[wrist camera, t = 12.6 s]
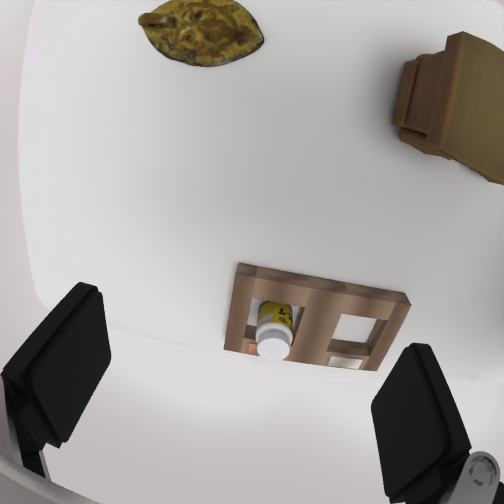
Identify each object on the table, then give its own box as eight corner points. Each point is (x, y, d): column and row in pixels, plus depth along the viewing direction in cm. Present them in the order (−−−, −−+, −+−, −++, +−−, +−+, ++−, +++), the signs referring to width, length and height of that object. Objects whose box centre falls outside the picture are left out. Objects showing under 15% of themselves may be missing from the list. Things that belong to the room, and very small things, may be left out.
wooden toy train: (373, 135, 34) (436, 160, 19) (393, 47, 28) (464, 18, 14) (496, 184, 34) (574, 232, 19) (515, 110, 29) (600, 130, 14)
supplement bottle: (298, 314, 45) (300, 355, 38) (270, 327, 47) (267, 368, 39) (280, 290, 44) (280, 330, 36) (252, 305, 45) (246, 345, 38)
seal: (274, 9, 29) (155, -3, 29) (274, -7, 25) (142, -17, 24) (255, 77, 32) (135, 61, 32) (253, 68, 28) (118, 53, 27)
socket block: (404, 293, 42) (412, 306, 39) (372, 358, 48) (376, 373, 45) (238, 262, 42) (235, 275, 39) (226, 336, 48) (223, 351, 45)
